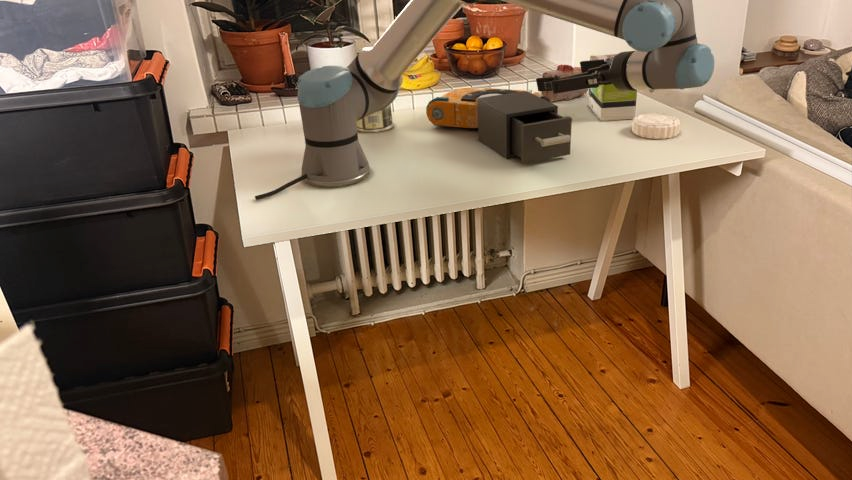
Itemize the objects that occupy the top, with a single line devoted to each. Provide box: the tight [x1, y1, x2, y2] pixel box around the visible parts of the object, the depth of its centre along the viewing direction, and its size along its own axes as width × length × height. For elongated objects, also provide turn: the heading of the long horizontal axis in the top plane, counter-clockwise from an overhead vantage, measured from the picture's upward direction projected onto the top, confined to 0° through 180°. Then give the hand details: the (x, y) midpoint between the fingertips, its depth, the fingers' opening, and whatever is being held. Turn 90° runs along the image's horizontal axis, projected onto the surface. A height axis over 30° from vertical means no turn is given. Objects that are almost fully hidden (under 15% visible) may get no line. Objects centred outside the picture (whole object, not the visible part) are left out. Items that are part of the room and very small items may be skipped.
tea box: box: [587, 53, 638, 122], centre depth 194 cm, size 15×10×15 cm, turn 6°
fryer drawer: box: [510, 111, 573, 164], centre depth 165 cm, size 19×13×9 cm, turn 26°
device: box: [425, 87, 551, 129], centre depth 191 cm, size 23×8×30 cm
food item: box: [540, 63, 589, 103], centre depth 210 cm, size 14×8×10 cm, turn 121°
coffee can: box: [356, 103, 394, 133], centre depth 188 cm, size 10×10×14 cm
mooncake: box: [631, 112, 681, 140], centre depth 181 cm, size 12×12×4 cm
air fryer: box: [477, 90, 559, 159], centre depth 173 cm, size 16×14×11 cm
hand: (560, 76), depth 152 cm, fingers open, 13 cm apart
